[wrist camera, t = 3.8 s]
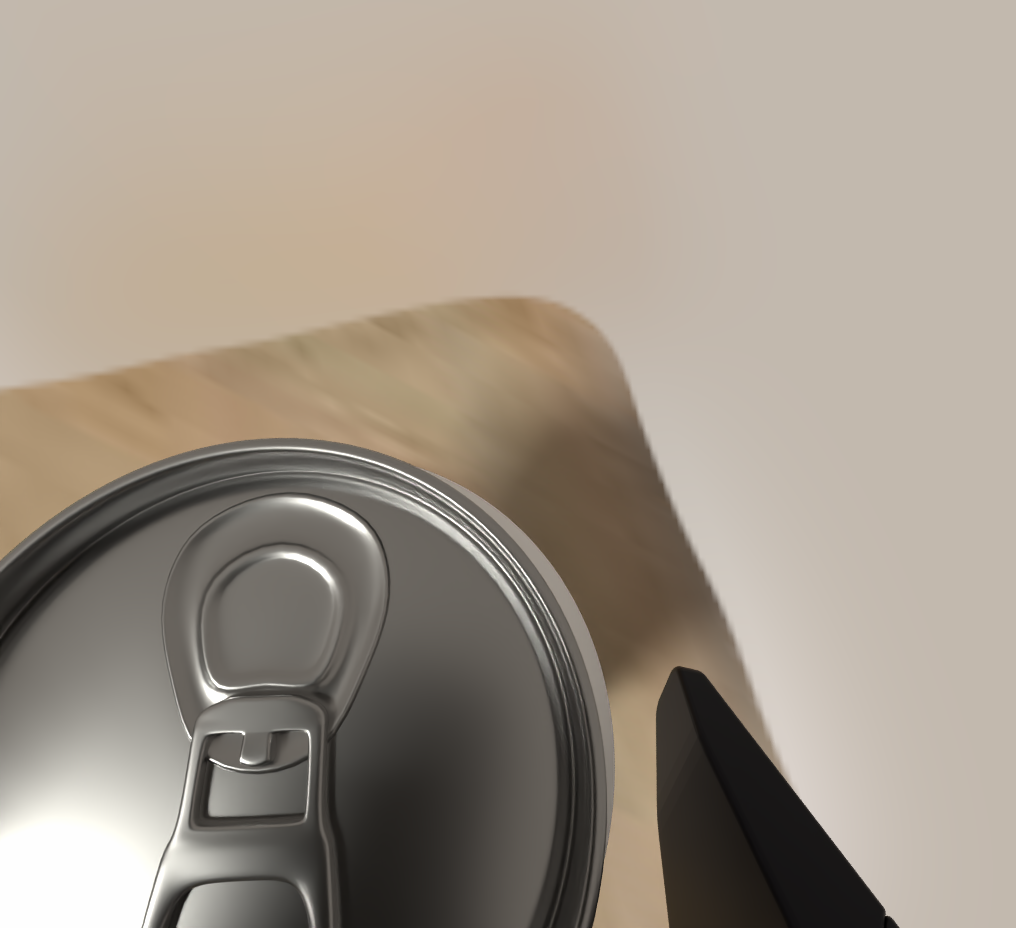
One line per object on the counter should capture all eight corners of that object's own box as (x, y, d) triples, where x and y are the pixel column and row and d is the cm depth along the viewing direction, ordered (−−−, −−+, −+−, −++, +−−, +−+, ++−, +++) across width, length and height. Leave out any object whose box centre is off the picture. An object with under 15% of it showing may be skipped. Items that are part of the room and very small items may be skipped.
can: (533, 564, 16) (621, 387, 5) (545, 805, 14) (734, 1399, 3) (322, 570, 16) (-76, 399, 5) (302, 816, 14) (-463, 1503, 3)
